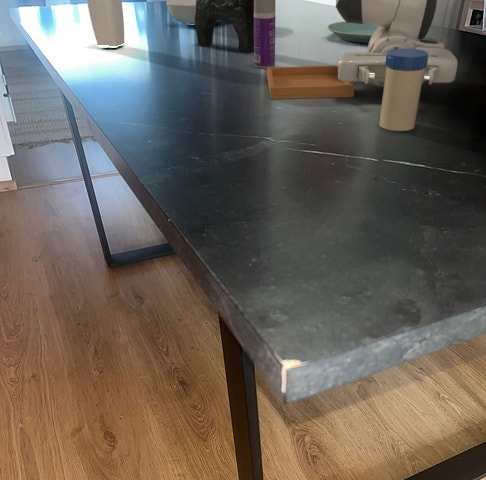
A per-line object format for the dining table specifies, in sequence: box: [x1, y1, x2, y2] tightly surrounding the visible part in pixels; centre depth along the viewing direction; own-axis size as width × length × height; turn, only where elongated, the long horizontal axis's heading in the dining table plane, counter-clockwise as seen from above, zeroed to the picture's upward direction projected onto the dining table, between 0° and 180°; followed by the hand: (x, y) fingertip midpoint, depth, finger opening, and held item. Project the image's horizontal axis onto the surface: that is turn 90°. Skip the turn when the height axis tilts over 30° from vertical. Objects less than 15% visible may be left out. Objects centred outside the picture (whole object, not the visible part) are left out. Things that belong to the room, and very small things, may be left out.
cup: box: [86, 0, 125, 46], centre depth 136 cm, size 7×7×15 cm
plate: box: [326, 21, 379, 44], centre depth 142 cm, size 22×22×3 cm
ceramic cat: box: [194, 0, 254, 54], centre depth 130 cm, size 20×6×20 cm, turn 51°
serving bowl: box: [165, 0, 222, 24], centre depth 165 cm, size 21×21×7 cm
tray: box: [266, 65, 355, 100], centre depth 104 cm, size 16×16×2 cm
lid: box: [385, 48, 428, 70], centre depth 79 cm, size 6×6×2 cm
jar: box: [378, 67, 425, 132], centre depth 82 cm, size 6×6×10 cm
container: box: [253, 0, 276, 70], centre depth 115 cm, size 5×5×15 cm
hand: (398, 79), depth 88 cm, fingers open, 8 cm apart
